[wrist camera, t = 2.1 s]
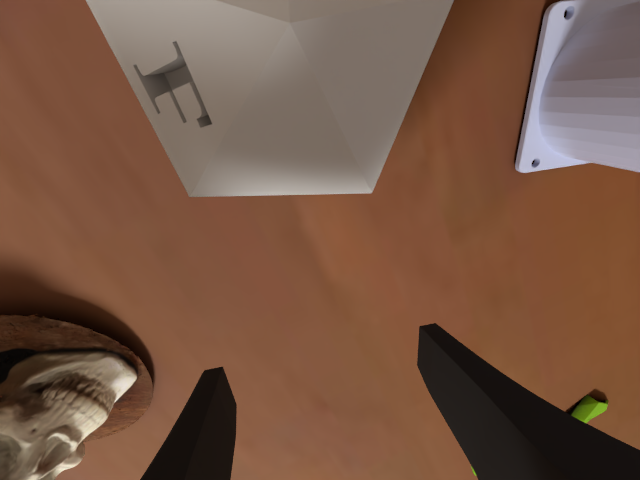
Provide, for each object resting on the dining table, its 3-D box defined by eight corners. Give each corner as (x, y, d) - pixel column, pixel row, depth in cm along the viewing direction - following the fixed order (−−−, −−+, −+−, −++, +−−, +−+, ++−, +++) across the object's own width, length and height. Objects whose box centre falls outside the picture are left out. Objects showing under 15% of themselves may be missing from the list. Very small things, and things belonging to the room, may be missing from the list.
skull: (81, 280, 15) (97, 524, 12) (166, 304, 25) (186, 441, 22) (-219, 355, 13) (-287, 669, 10) (3, 348, 23) (1, 506, 20)
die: (125, -16, 11) (-353, -391, 3) (345, -86, 12) (600, -674, 3) (220, 188, 15) (159, 314, 7) (384, 133, 16) (541, 185, 7)
